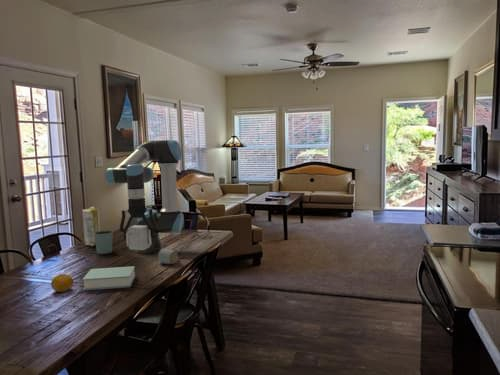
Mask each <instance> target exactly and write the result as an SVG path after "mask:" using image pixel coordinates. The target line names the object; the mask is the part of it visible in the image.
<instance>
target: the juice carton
mask: <svg viewBox="0 0 500 375" xmlns="http://www.w3.org/2000/svg"><path fill="white" fill-rule="evenodd" d="M99 211H100V210H99V209H98V208H95V206H91V207H89V208H84V209H82V224H83V237H84V245H85V246H90V247H94V246H95V247H96V240H95V235H94V233H95V232H98V231H101V226H100V214H99Z"/></svg>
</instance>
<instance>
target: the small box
mask: <svg viewBox="0 0 500 375" xmlns="http://www.w3.org/2000/svg"><path fill="white" fill-rule="evenodd" d="M127 232H128V239H129V246H128V249H129V250H131V251H132V250H133V251H134V250H135V251H136V250H145V249H147V248H149V247H150V245H149V228H148V226H143V225H138V224H137V225H136V224H134V225H130V226H129V227H128V229H127Z"/></svg>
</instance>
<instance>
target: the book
mask: <svg viewBox="0 0 500 375" xmlns="http://www.w3.org/2000/svg"><path fill="white" fill-rule="evenodd" d="M135 267H136V266H135V265H134V266H132V265H131V266H118V267H117V266H116V267H102V268H91V269H90V270H89V271H88V272H87V273H86V274H85V276H84V277H82V281H83V286H84V288H82V291H92V290H107V289H121V288H124V289H125V288H131V286H132V284H133V282H134V281H135V278H136V274H135Z"/></svg>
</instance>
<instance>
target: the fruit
mask: <svg viewBox="0 0 500 375" xmlns="http://www.w3.org/2000/svg"><path fill="white" fill-rule="evenodd" d="M50 286H51V288H52V289H53V290H54V291H55V292H58V293H62V292H63V293H64V292H66V291H69V290H70V289H71V288H72V287H73V286H74V279H73V277H72V276H71V275H69V274H67V273H66V274H65V273H59V274H57V275H56V276H55V277H53V278H52V280H51V284H50Z"/></svg>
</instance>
